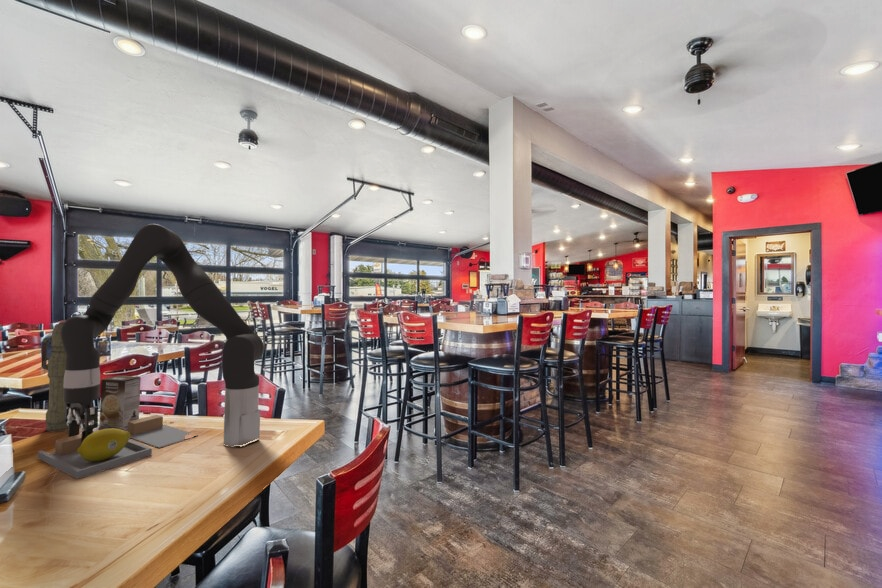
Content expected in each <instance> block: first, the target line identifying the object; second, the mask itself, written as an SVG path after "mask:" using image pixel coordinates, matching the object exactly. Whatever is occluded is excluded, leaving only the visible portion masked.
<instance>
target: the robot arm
mask: <svg viewBox="0 0 882 588" xmlns="http://www.w3.org/2000/svg"><path fill="white" fill-rule="evenodd" d="M154 257H156V258H158V259H159V260H160V261H161V262H162V263H163V264H164V265H165V266H166V267H167V268H168V269H169V270H170V272H171V273H172V274H173V276H174V278H175V281H176V284H177V286H178V289H179V293H180V294H181V296H182V298H184V300H185V301H186V302H187V304H188V305H189V306H190V308H191V309H192V310H193V311H194V312H195V313H196V314H197V315H198V316H199V317H200V318H202V319H203V320H205V321H206V322H208V323H209V324H211V325H212V326H214V327H215V328H217V329H218V330H219V331H220V332H221V333H222V334H223V335H224V336H225V338H226V339H227V340H226V341H225V342H224V345H223V347H222V354H221V355H222V356H221V359H222V361H221V362H222V363H221V364H222V379H223V381H224V384H225V386H224V387H225V389H224V391H225V392H224V411H223V412H224V414H223V415H224V416H223V417H224V419H223V445H224V444H225V445H228V446H234V445H243V444H246V443H248V442H250V441H253V440H255V439H257V438H259V439H260V437H261V436H260V435H261V434H260V432H261V427H260V426H261V425H260V424H261V410H260V409H259V404H260V403H259V399H260V398H259V396H260V395H259V394H260V376H259V375H258V374H256V373H255V361H257V360H258V359H260V358H261V357H263V354H264V352H265V346H264V342H263V340H262V338H261V337H260V336H259V334H257V333H256V332H255V331H254V330H253V329H252V328H251V327H250V326H249V324H248V323H247V322H245V321H244V319H243V318H242V317H241V316H240V315H239V314H238V313H237V311H236V309H235V308H234V307H233V305H232V304H231V303H230V302H229V300H228V299H227V298H226V296H225V295H224V294H223V292H222V291H221V289H220V288H219V287H218V285H216V283H215V282H214V281H213V280H212V278H211V277H210V276H209V275H208V273H206V272H205V270H203V268H202V267H201V266H200V265H199V264H198V263H197V262H196V261H195V260H194V258H193V256H192V254H191V253H190V251H189V250H188V248H187V246H186V245H185V243H184V241H183V240H182V238H181V236H179V235H178V233H176V232H174V231H173V230H171V229H169V228H167V227H166V226H163V225H161V224H158V223H157V224H156V223H149V224H147V225H144V226H143V227H141V228H140V229H139V230H138V231H137V232H136V234H135V236H134V237H133V238H132V240H131V243H130V244H129V245H128V247H127V249H126V251H125V252H124V254H123V255H122V257H121V258H120V260H119V262H118V264H117V265H116V266H115V268H114V270H113V271H112V272H111V274H110V275H109V276H108V277H107V278H106V279H105V281H104V282H103V283H102V284H101V285H100V287H98V289H97V290H96V291H95V292H94V293H93V295H92V296H91V297H90V298H89V300H88V305H89V307H88V308H87V309H86V311H85V312H84V313H83V314H81V315H74V316H70V317H69V318H67V319H66V320H65V321H64V322H63V323H64V324H63V326H62V329H61V338H62V342H63V346H64V350H65V352H66V366H65V375H64V384H63V402H64V403H65V416H64V421H65V422H67V425H69V426H68V430H67V437H71V436H75V435H79V434H80V428H81V434H82V435H81V443H82V442H83V440H84V439H85V438H86V437H87V436H88V435H90V434H92V433H93V431H94V429H97V428H98V427H99V426H98V425H99V408H98V406H93V404H92V403H93V401H96V400H99V398H100V397H101V370H100V365H101V364H100V361H101V360H100V358H101V353H100V350H99V349H98V348H97V347H95V342H94V338H97V337H98V336H100V335H102V333H104V332H105V331H106V330H107V329H108V327H109V325H110V324H111V322H112V320H113V319H114V317H115V315H116V313H117V312H118V310H120V308H121V307H122V306H123V305H124V304H125V303H126V302H127V300H128V299H129V298H130V297H131V296H132V294H133V292H134V291H135V290H136V287H137V283H138V281H139V277H140V275H141V273H142V271H143V269H144V268H145V266H146V265H147V263H149V262H150V261H151V260H152V259H153V258H154ZM79 425H80V426H79ZM225 445H224V446H225Z"/></svg>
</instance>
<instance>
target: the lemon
mask: <svg viewBox="0 0 882 588" xmlns="http://www.w3.org/2000/svg"><path fill="white" fill-rule="evenodd" d="M130 439H131V438H130V433H129V432H128V430H127V431H126V430H122V429H121V428H115V427H109V428H103V429H99V431H96V432H94V433H92V434H90V435H88V436H87V437H86V438H85V439H84V440H83V442H82V444H81V446H80V447H79V448H78V450H77V452H78V453H79V454H80V455H81V456H82V458H83V459H84V460H86V461H89V462H99V461H103V460H106V459H109V458H111V457H113V456H114V455H116V454H117V453H118V452H120V451H121V450H122V449H123V447H124V446H125V444H126V443H127V442H128V440H130Z"/></svg>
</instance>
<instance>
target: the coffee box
mask: <svg viewBox="0 0 882 588" xmlns="http://www.w3.org/2000/svg"><path fill="white" fill-rule="evenodd" d="M140 397H141V376H133V375H115V376H110V377H106V378H102V379H101V378H100V404H99V405H100V406H99V424H98V425H99V426H98V427H109V428H118V429H121V428H122V429H123V428H126V427H128V421H133V420H137V419H140V418H139V417H140V401H141V400H140Z"/></svg>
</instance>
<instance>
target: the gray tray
mask: <svg viewBox="0 0 882 588" xmlns="http://www.w3.org/2000/svg"><path fill="white" fill-rule="evenodd" d="M99 430H100V429H99ZM99 430H98V429H96V430H93V433H94V432H96V431H99ZM81 435H82V433H79V435H75V436H71V437H68V436H67V437H64V438H60V439H55V441H54V442H55V446H54V447H55V448H54V452H51V453H48V452H47V451H45V450H42V449H41V450H38V451H37V459H38V458H39V460H40V461H42V462H45V463H47V465H50V466H52V467H53V468H56V469H57V470H60V471H62V472H63V473H65V474H67V475H69V476H70V477H73V478H75V479H77V480H78V479H81V478H84V477H88V476H91V475H94V474H97V473H100V472H102V471H103V470H104V471H107V470H109V468H110V469H111V468H116V467H119V466H122V465H125V464H127V463H131V462H135V461H137V460H140V459H144V458H146V457H149V456H152V455H151V454H152V452H153V451H152V450H153V448H152V447H149V446H146V445H144V444H140V443H138V442H137V441H136V442H135V441H133V440H130V439H129V440H128V442H127V443H126V444H125V446H124V447H123V449H122V450H121V451H120V452H118V453H117V454H116V455H114V456H113V457H111V458H109V459H106V460H103V461H99V462H89V461H86V460H84V459H83V458H82V456H81V455H80V454H79V453H78V452H77V450H78V448H79V447H80V446H81V444H82V443H81ZM106 469H107V470H106ZM104 471H103V472H104Z"/></svg>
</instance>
